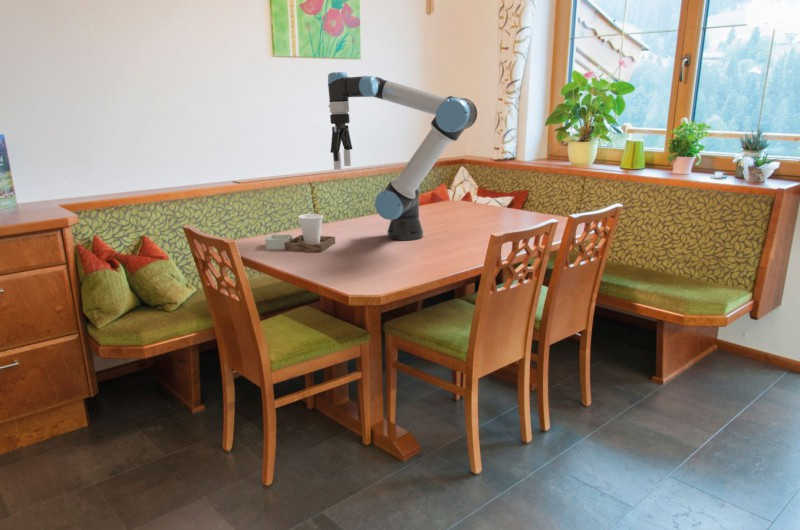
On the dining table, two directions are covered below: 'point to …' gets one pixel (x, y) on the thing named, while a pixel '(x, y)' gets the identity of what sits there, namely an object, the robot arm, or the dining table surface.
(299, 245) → the brown square tray
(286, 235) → the small crate
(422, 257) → the dining table surface
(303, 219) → the cup
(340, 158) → the robot arm
